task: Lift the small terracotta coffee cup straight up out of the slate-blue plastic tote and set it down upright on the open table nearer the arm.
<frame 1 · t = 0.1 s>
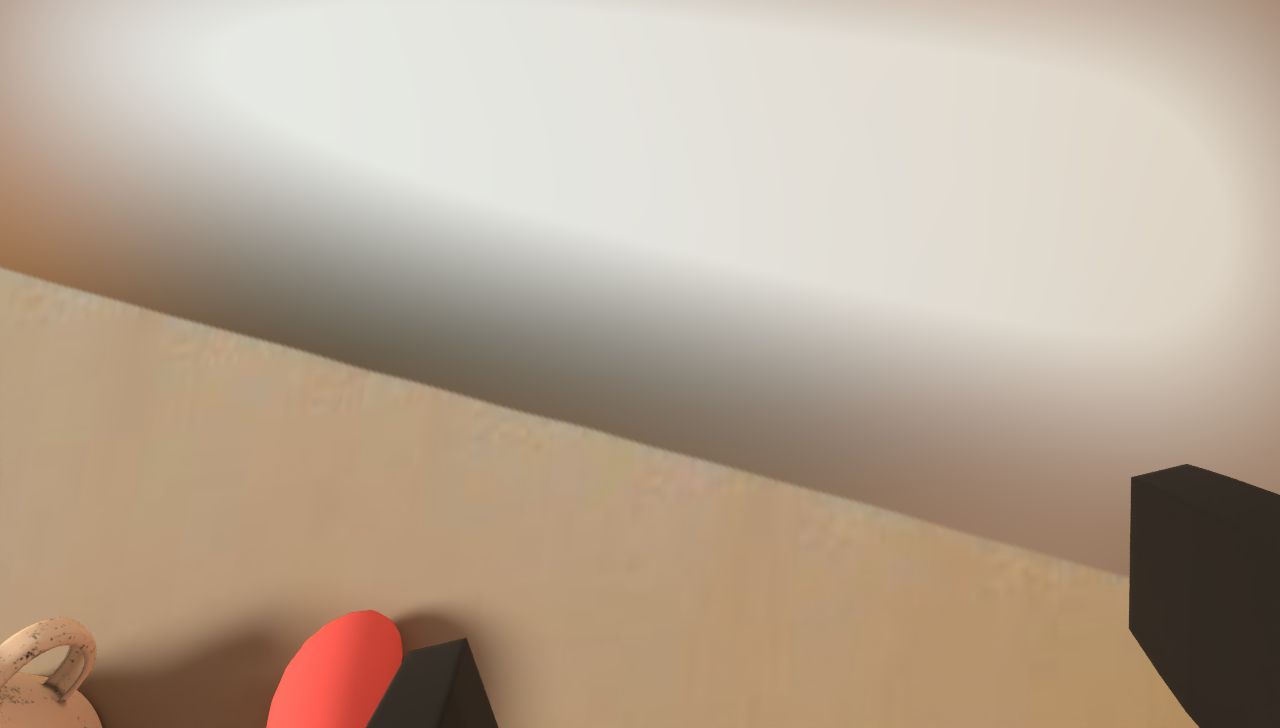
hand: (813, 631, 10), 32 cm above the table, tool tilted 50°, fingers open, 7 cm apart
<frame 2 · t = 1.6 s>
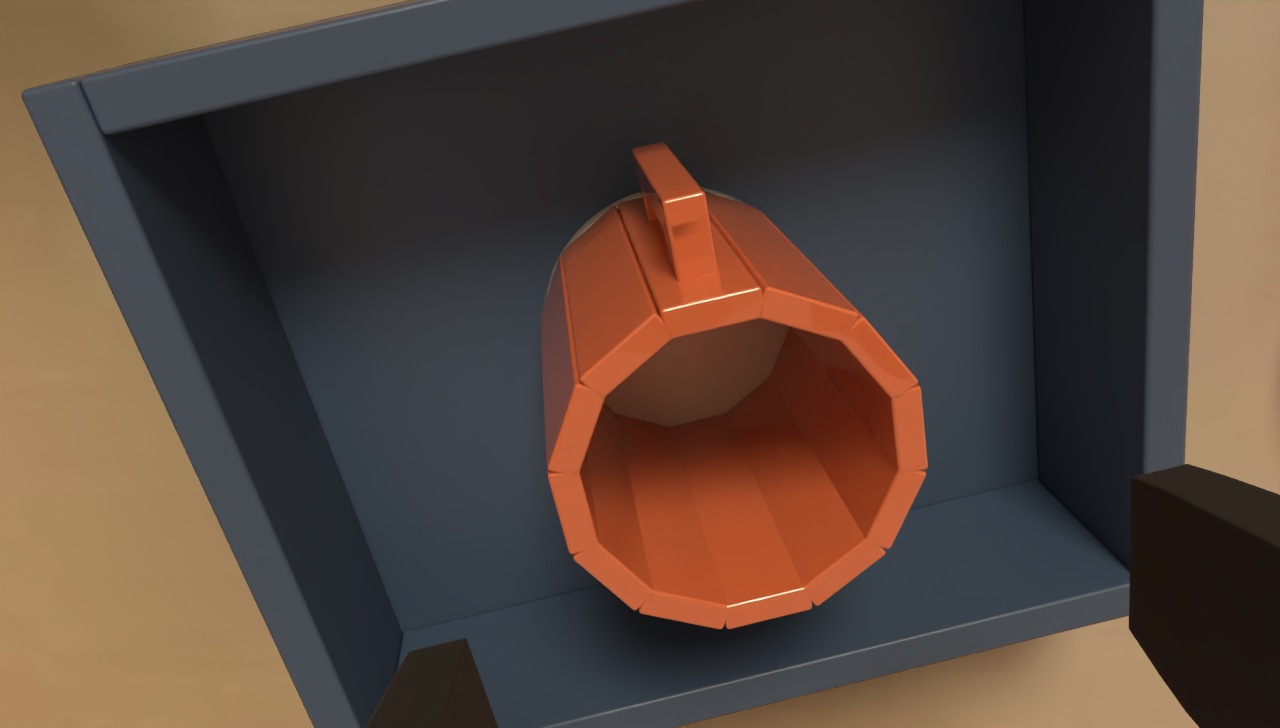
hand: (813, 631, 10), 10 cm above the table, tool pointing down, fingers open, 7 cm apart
bin: (670, 306, 19), on the table
cup: (674, 314, 19), resting on bin
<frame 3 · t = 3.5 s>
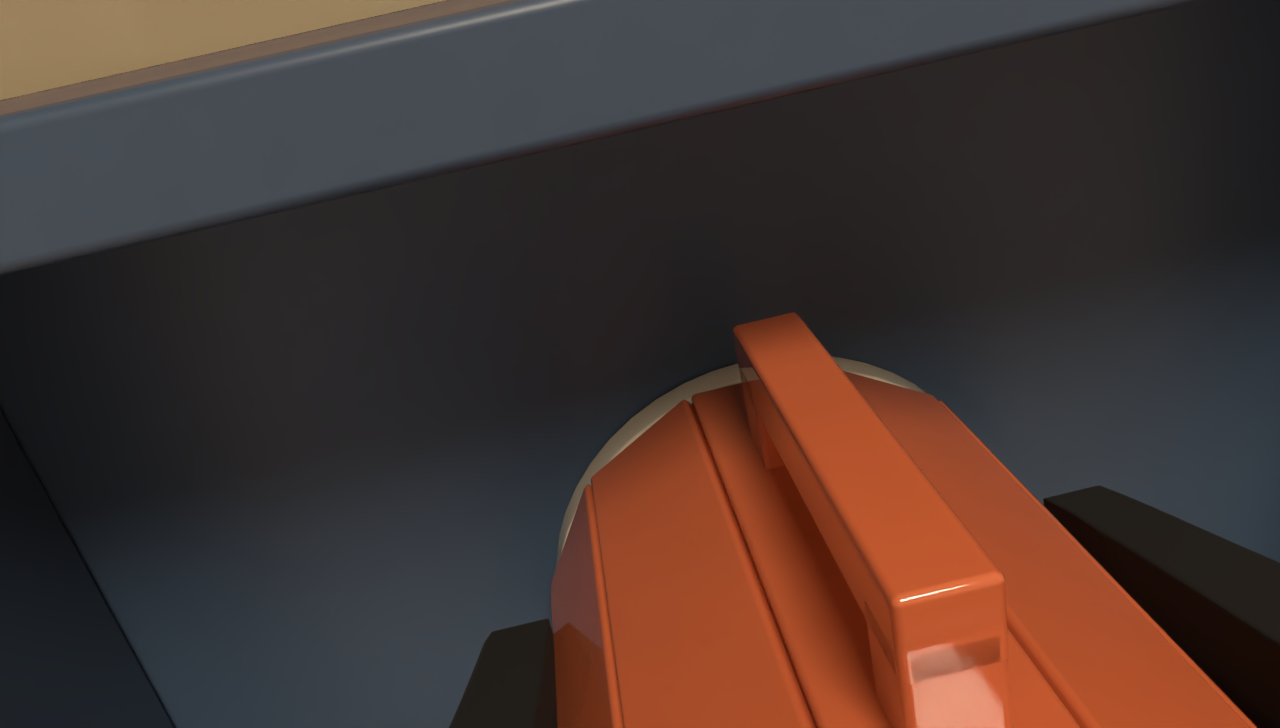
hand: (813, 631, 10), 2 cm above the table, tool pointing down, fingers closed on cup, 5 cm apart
bin: (770, 532, 12), on the table
cup: (776, 556, 11), point 1 cm above the table, touching bin, gripper
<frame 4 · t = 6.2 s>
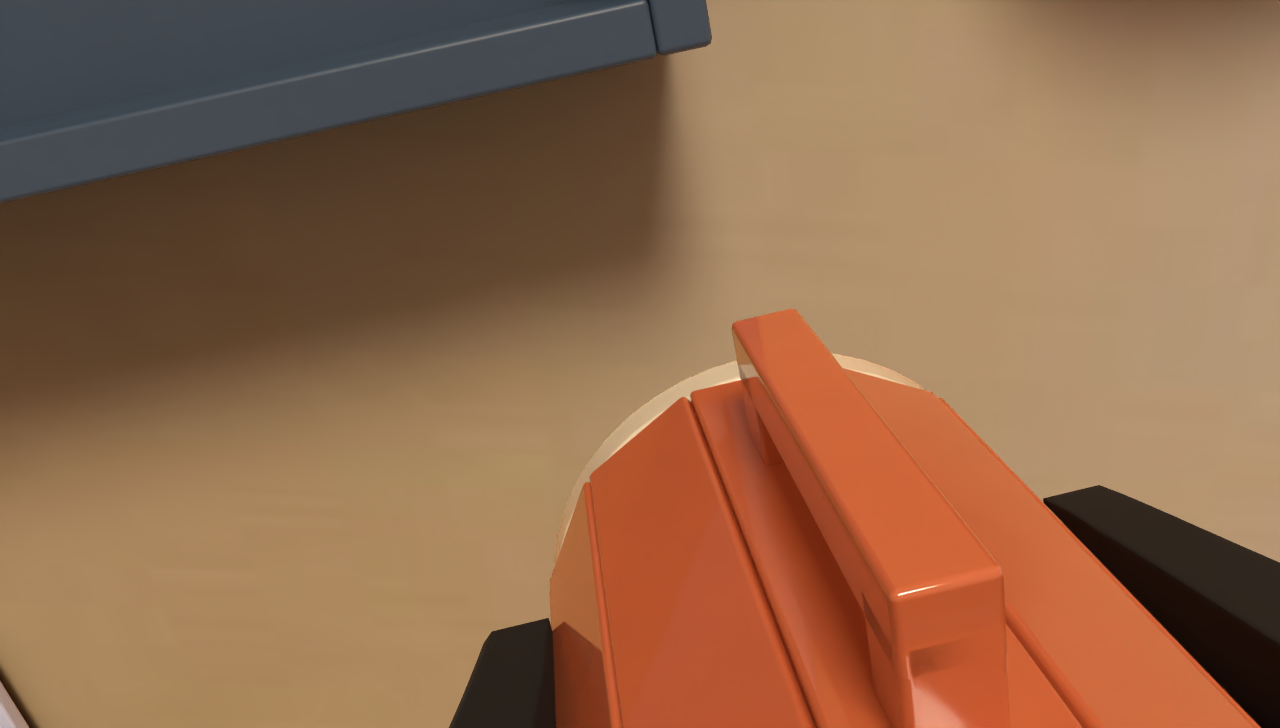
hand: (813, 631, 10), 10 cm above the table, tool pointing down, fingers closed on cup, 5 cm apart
cup: (775, 554, 11), point 9 cm above the table, touching gripper
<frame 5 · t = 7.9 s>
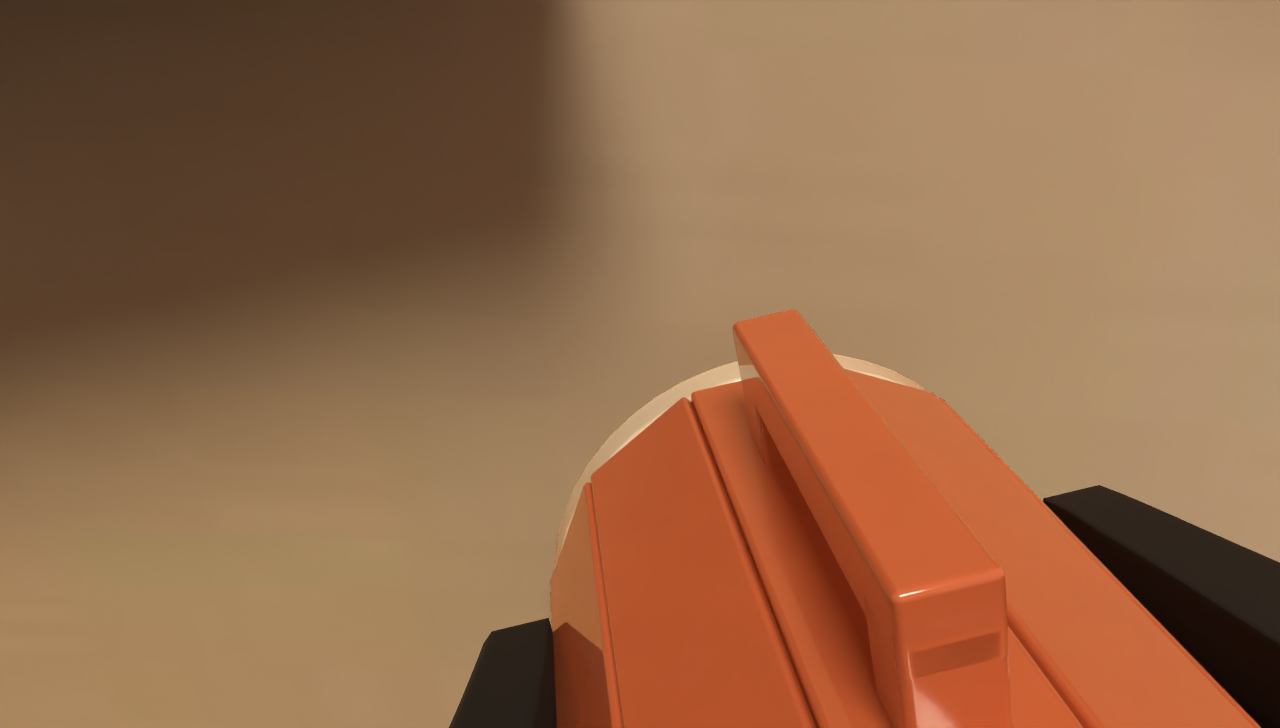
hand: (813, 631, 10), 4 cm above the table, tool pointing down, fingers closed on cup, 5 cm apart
cup: (776, 554, 11), point 2 cm above the table, touching gripper
when the fingers open (1 cm above the table, at t = 9.2 s): cup stays where it is, on the table.
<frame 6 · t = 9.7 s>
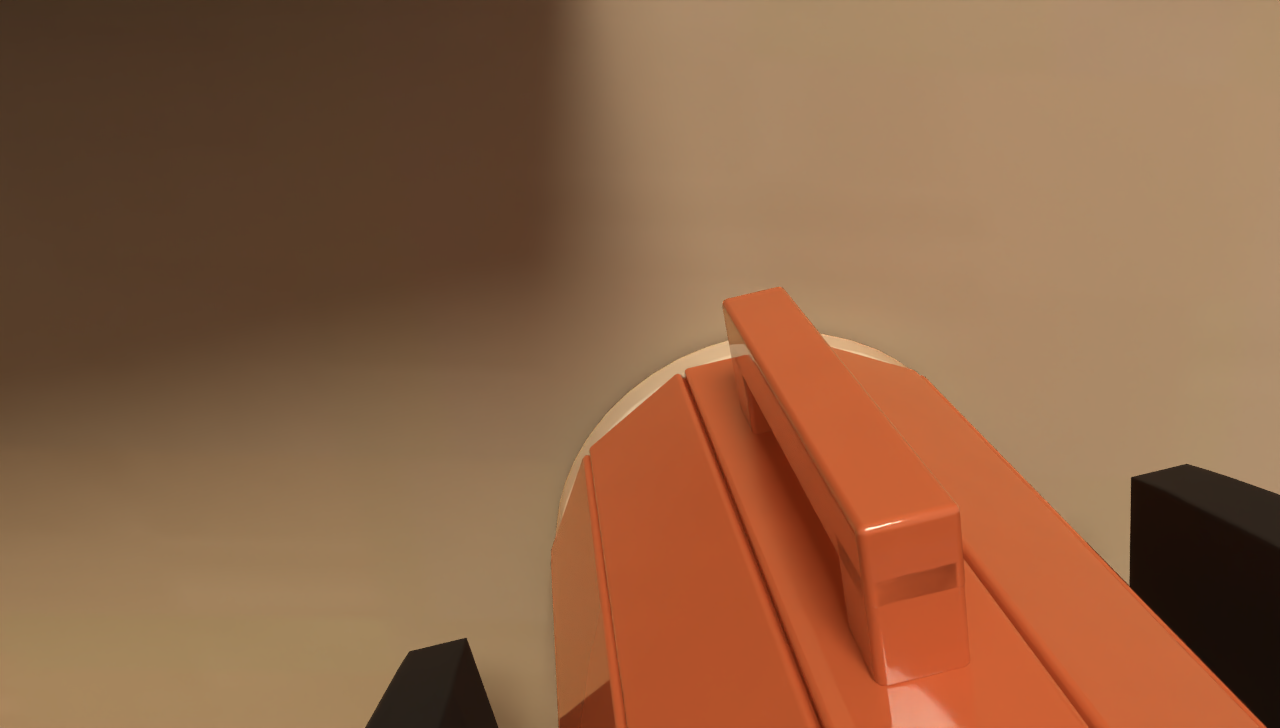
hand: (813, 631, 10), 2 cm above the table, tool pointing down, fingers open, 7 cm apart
cup: (767, 527, 12), on the table
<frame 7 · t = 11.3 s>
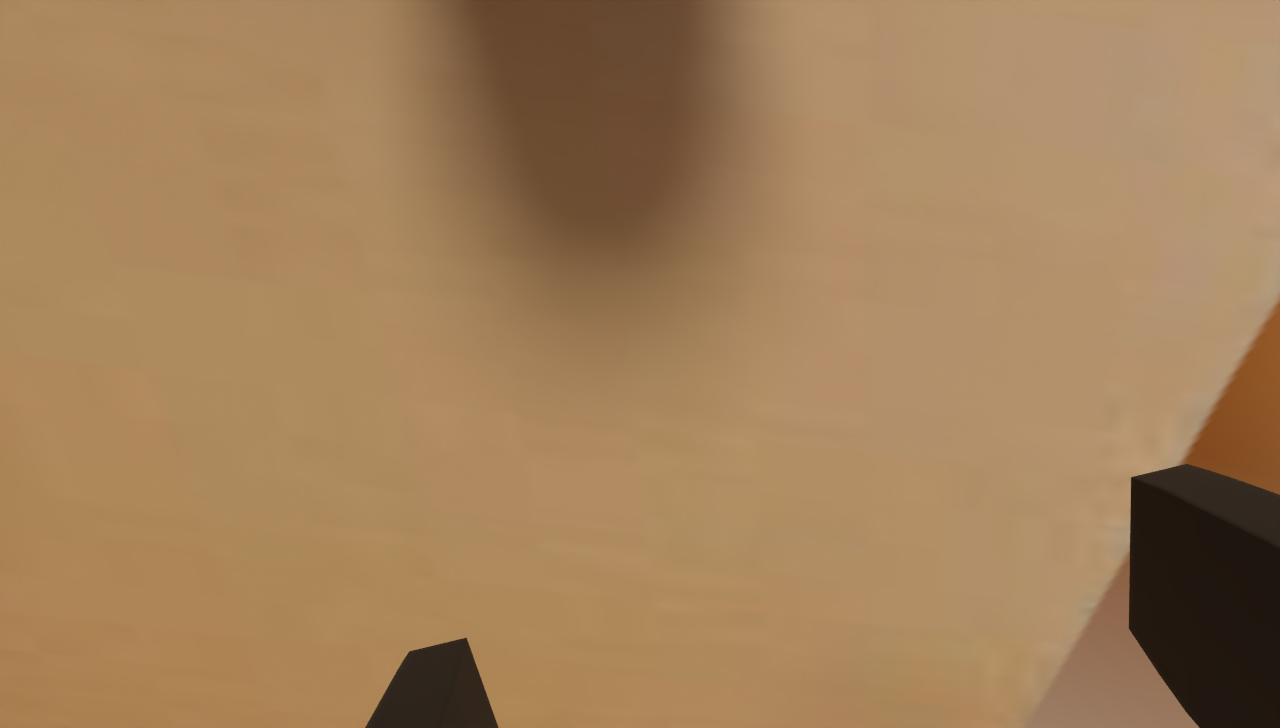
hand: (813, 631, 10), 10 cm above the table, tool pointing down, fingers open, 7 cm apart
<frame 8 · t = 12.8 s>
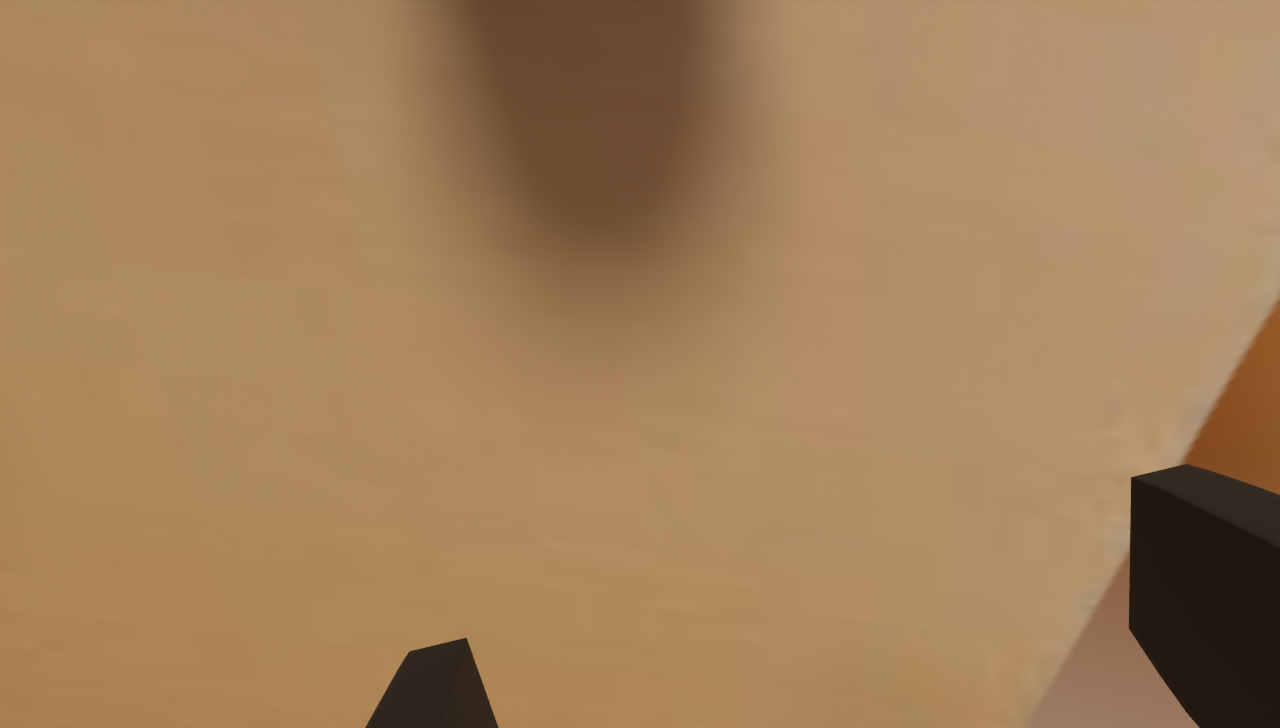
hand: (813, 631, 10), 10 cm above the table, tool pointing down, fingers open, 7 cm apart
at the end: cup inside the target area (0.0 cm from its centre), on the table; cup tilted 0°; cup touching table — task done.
